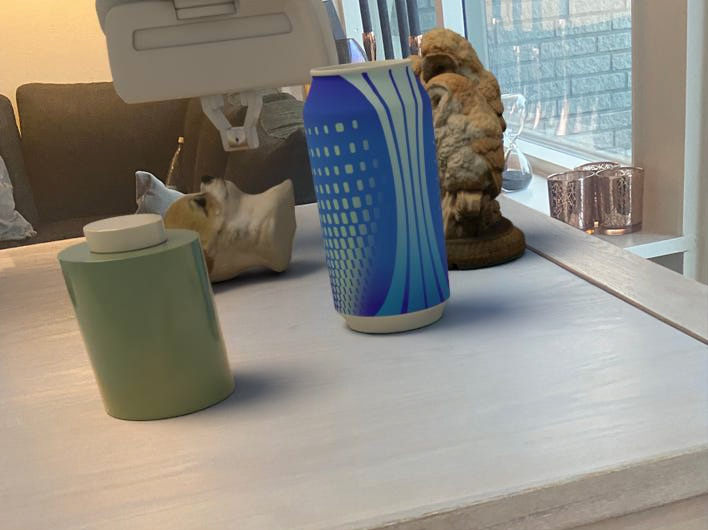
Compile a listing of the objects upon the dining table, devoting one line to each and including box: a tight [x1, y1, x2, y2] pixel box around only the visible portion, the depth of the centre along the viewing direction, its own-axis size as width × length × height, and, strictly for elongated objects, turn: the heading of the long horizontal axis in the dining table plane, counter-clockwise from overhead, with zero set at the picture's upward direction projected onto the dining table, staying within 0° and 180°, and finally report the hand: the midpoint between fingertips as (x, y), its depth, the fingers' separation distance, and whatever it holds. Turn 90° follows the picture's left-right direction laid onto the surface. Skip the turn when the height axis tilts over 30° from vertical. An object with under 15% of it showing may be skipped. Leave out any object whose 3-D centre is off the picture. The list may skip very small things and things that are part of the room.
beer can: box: [302, 58, 451, 334], centre depth 65 cm, size 8×8×16 cm
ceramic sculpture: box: [163, 174, 298, 283], centre depth 83 cm, size 11×9×15 cm
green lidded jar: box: [56, 213, 236, 421], centre depth 57 cm, size 8×8×10 cm
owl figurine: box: [405, 27, 527, 270], centre depth 82 cm, size 18×12×17 cm, turn 28°
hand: (242, 149), depth 89 cm, fingers closed
